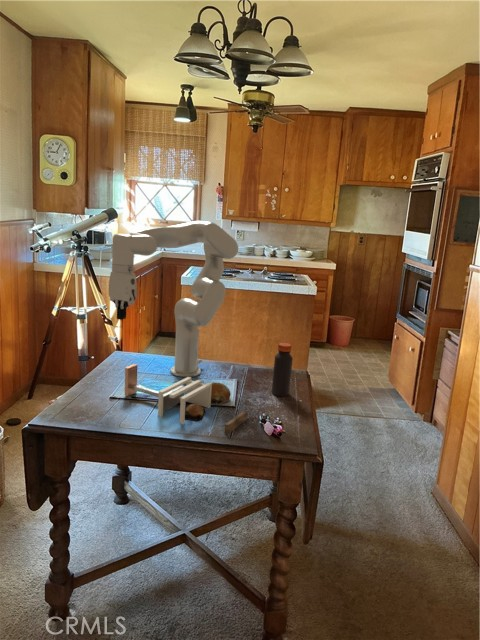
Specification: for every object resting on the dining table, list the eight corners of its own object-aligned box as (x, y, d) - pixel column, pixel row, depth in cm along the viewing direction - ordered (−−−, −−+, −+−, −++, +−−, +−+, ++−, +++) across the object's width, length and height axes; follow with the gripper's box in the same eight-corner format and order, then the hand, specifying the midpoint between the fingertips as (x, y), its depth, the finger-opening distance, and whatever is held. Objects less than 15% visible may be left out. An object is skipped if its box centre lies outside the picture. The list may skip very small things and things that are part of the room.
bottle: (292, 394, 186) (297, 345, 181) (281, 398, 181) (286, 348, 176) (278, 388, 190) (283, 340, 185) (268, 392, 185) (272, 343, 180)
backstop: (243, 418, 161) (244, 410, 161) (246, 419, 161) (247, 411, 160) (224, 433, 150) (224, 424, 149) (227, 434, 150) (228, 425, 149)
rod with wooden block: (140, 388, 180) (141, 361, 177) (183, 401, 171) (185, 373, 168) (116, 398, 169) (117, 370, 166) (161, 413, 160) (162, 383, 157)
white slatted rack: (187, 400, 173) (188, 376, 171) (210, 407, 168) (211, 383, 166) (157, 416, 158) (158, 391, 156) (182, 424, 154) (183, 398, 152)
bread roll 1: (183, 408, 167) (183, 398, 166) (207, 410, 167) (207, 400, 166) (177, 421, 157) (178, 411, 156) (202, 423, 157) (203, 413, 156)
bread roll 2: (231, 408, 177) (237, 387, 179) (221, 406, 168) (226, 384, 169) (208, 402, 181) (213, 381, 183) (196, 399, 172) (202, 378, 173)
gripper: (145, 270, 170) (144, 320, 174) (114, 265, 177) (113, 313, 181) (131, 272, 163) (130, 324, 168) (99, 266, 170) (98, 316, 174)
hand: (121, 318), depth 174 cm, fingers closed
